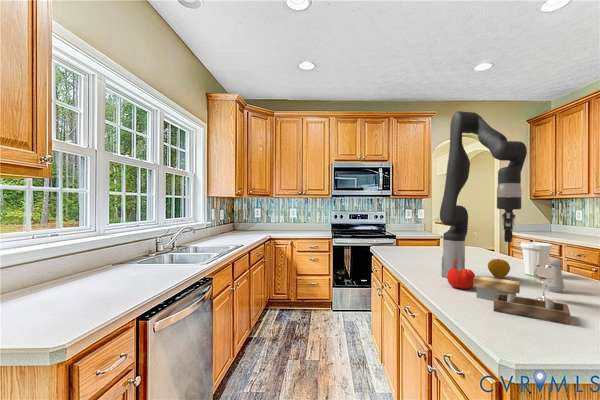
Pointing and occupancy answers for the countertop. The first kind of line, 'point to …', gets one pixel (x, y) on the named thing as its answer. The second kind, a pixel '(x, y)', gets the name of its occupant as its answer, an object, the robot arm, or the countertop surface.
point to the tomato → (460, 278)
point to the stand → (490, 293)
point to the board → (496, 284)
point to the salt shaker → (556, 276)
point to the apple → (498, 268)
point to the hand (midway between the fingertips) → (508, 240)
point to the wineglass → (543, 277)
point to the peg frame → (532, 308)
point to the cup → (535, 255)
